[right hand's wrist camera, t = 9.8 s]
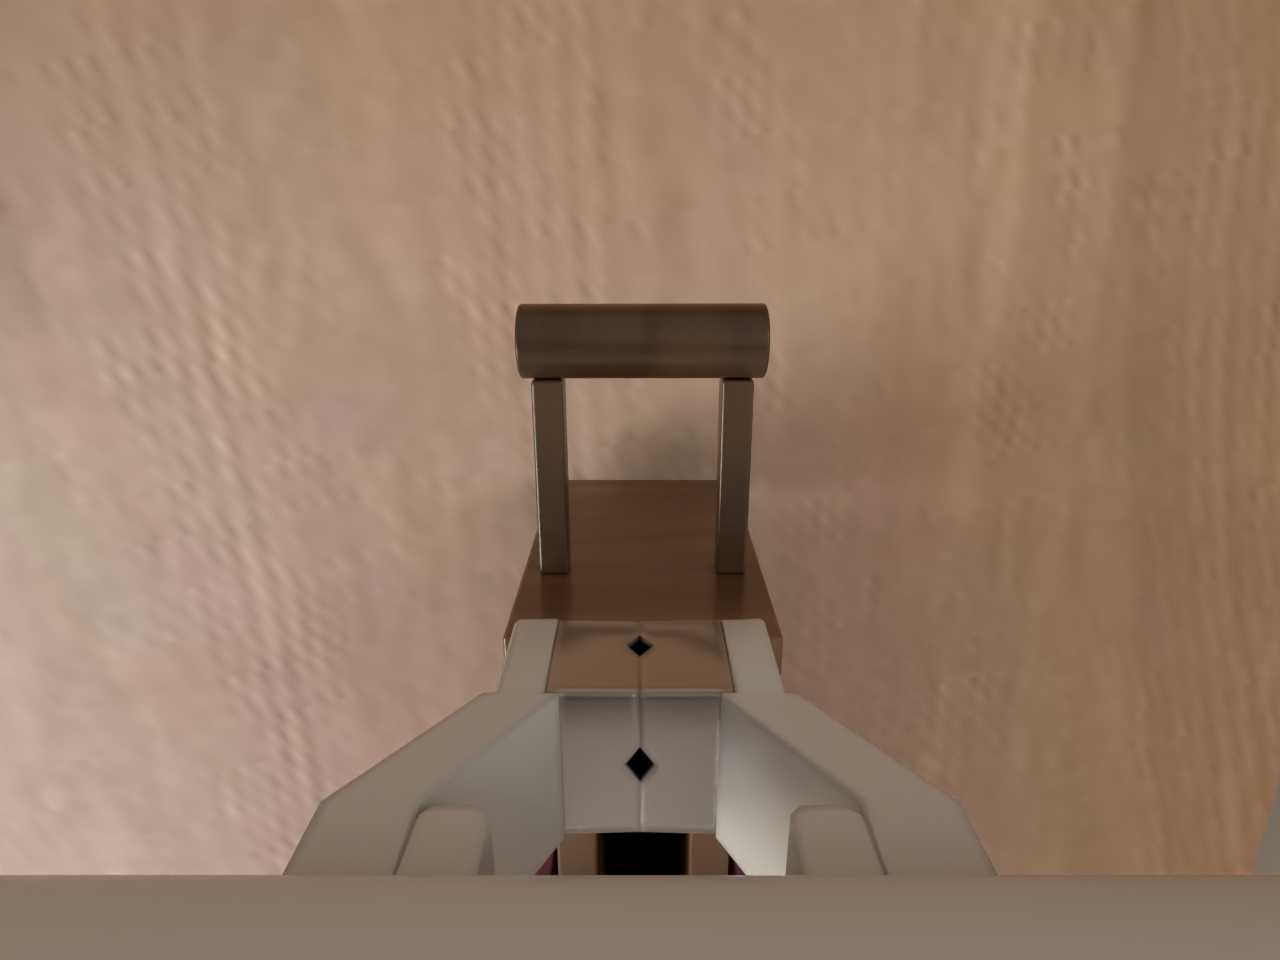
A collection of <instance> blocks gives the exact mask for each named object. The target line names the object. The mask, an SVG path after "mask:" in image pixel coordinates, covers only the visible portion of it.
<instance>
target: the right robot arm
mask: <svg viewBox="0 0 1280 960" xmlns="http://www.w3.org/2000/svg"><path fill="white" fill-rule="evenodd" d="M613 832H665V833H701V834H716V838H717V840H718V841H719V842H720V843H721V845H722V846H723V847H724V848H725V850H726V851H727V852H728V853H729V854H730V856H731V857H732V858H733V859H734V861H735V862H736V863H737V864H738V866H739V867H740V868H741V869H742V871H743V872H744V873H745V874H746V875H535V874H536V873H537V871H538V870H539V869H540V868H541V866H542V865H543V864H544V863H545V861H546V860H547V859H548V858H549V856H550V855H551V854H552V853H553V852H554V850H555V849H556V848H557V847H558V845H559V844H560V843H561V842H562V840H563V839H564V834H578V833H613ZM0 960H1280V875H997V873H996V871H995V869H994V867H993V865H992V863H991V861H990V859H989V857H988V855H987V853H986V851H985V850H984V848H983V846H982V844H981V842H980V840H979V838H978V836H977V834H976V832H975V830H974V828H973V826H972V824H971V822H970V820H969V819H968V817H967V815H966V813H965V811H964V809H963V807H962V805H961V803H960V802H958V801H957V800H955V799H954V798H952V797H951V796H949V795H948V794H946V793H945V792H943V791H942V790H940V789H939V788H937V787H936V786H934V785H933V784H931V783H930V782H928V781H927V780H926V779H924V778H923V777H921V776H920V775H918V774H917V773H915V772H914V771H912V770H911V769H909V768H908V767H906V766H905V765H903V764H902V763H900V762H899V761H897V760H896V759H894V758H893V757H891V756H890V755H888V754H887V753H885V752H884V751H882V750H881V749H879V748H878V747H876V746H875V745H873V744H872V743H871V742H869V741H868V740H866V739H865V738H863V737H862V736H860V735H859V734H857V733H856V732H854V731H853V730H851V729H850V728H848V727H847V726H845V725H844V724H842V723H841V722H839V721H838V720H836V719H835V718H833V717H832V716H830V715H829V714H827V713H826V712H824V711H823V710H821V709H820V708H818V707H817V706H816V705H814V704H813V703H811V702H810V701H808V700H807V699H805V698H804V697H802V696H801V695H799V694H798V693H785V691H784V687H783V684H782V680H781V677H780V673H779V670H778V667H777V663H776V660H775V656H774V653H773V650H772V646H771V643H770V639H769V636H768V632H767V629H766V626H765V622H764V621H763V620H762V619H760V618H758V619H735V620H721V619H720V620H678V621H616V620H563V619H561V620H560V621H559V620H558V619H520V620H518V621H517V622H516V623H515V625H514V628H513V631H512V635H511V638H510V642H509V645H508V649H507V652H506V656H505V659H504V663H503V666H502V670H501V673H500V677H499V680H498V684H497V687H496V691H495V693H482V694H481V695H479V696H478V697H476V698H475V699H473V700H472V701H470V702H469V703H467V704H466V705H464V706H463V707H461V708H460V709H458V710H457V711H455V712H454V713H453V714H451V715H450V716H448V717H447V718H445V719H444V720H442V721H441V722H439V723H438V724H436V725H435V726H433V727H432V728H430V729H429V730H427V731H426V732H424V733H423V734H421V735H420V736H418V737H417V738H415V739H414V740H412V741H411V742H409V743H408V744H406V745H405V746H403V747H402V748H400V749H399V750H397V751H396V752H394V753H393V754H391V755H390V756H388V757H387V758H385V759H384V760H382V761H381V762H379V763H378V764H376V765H375V766H373V767H372V768H370V769H369V770H367V771H366V772H364V773H363V774H361V775H360V776H358V777H357V778H355V779H354V780H352V781H351V782H349V783H348V784H346V785H345V786H343V787H342V788H340V789H339V790H337V791H336V792H335V793H333V794H332V795H330V796H329V797H327V798H326V799H324V800H323V801H321V802H320V804H319V806H318V808H317V810H316V812H315V814H314V815H313V817H312V819H311V821H310V823H309V825H308V827H307V829H306V831H305V833H304V835H303V836H302V838H301V840H300V842H299V844H298V846H297V848H296V850H295V852H294V854H293V856H292V857H291V859H290V861H289V863H288V865H287V867H286V869H285V871H284V873H283V875H0Z"/></svg>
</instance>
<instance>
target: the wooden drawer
mask: <svg viewBox="0 0 1280 960" xmlns="http://www.w3.org/2000/svg"><path fill="white" fill-rule="evenodd" d="M515 351H516V361H517V368H518V372H519V374H520V376H521V378H534V379H533V381H532V383H531V391H532V412H533V434H534V456H535V477H536V499H537V520H538V529H537V532H536V535H535V539H534V542H533V545H532V548H531V551H530V555H529V558H528V561H527V564H526V567H525V570H524V574H523V577H522V580H521V583H520V586H519V589H518V593H517V596H516V599H515V602H514V605H513V608H512V612H511V615H510V618H509V621H508V624H507V627H506V631H505V634H504V637H503V647H504V659H505V656H506V652H507V649H508V645H509V642H510V638H511V635H512V631H513V628H514V625H515V623H516V622H517V621H518V620H520V619H558V620H559V621H560V620H561V619H563V620H616V621H678V620H720V619H721V620H735V619H758V618H760V619H762V620H763V621H764V622H765V626H766V629H767V632H768V636H769V639H770V643H771V646H772V650H773V653H774V656H775V660H776V663H777V667H778V670H779V673H780V677H781V662H782V646H783V637H782V634H781V631H780V628H779V624H778V621H777V618H776V615H775V612H774V609H773V606H772V603H771V600H770V597H769V593H768V590H767V587H766V584H765V581H764V578H763V575H762V572H761V569H760V566H759V562H758V559H757V556H756V553H755V550H754V547H753V544H752V541H751V538H750V534H749V531H748V507H749V484H750V461H751V439H752V416H753V393H754V382H753V380H752V378H763V377H764V376H765V374H766V371H767V367H768V361H769V351H770V321H769V313H768V309H767V306H766V305H765V304H521V305H519V306H518V309H517V313H516V321H515ZM565 378H720V390H719V423H718V456H717V480H568V453H567V422H566V392H565ZM557 852H558V874H559V875H728V860H729V853H728V852H727V851H726V850H725V848H724V847H723V846H722V845H721V843H720V842H719V841H718V840H717V838H716V834H701V833H665V832H613V833H578V834H564V839H563V840H562V842H561V843H560V844H559V845H558V847H557Z"/></svg>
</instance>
